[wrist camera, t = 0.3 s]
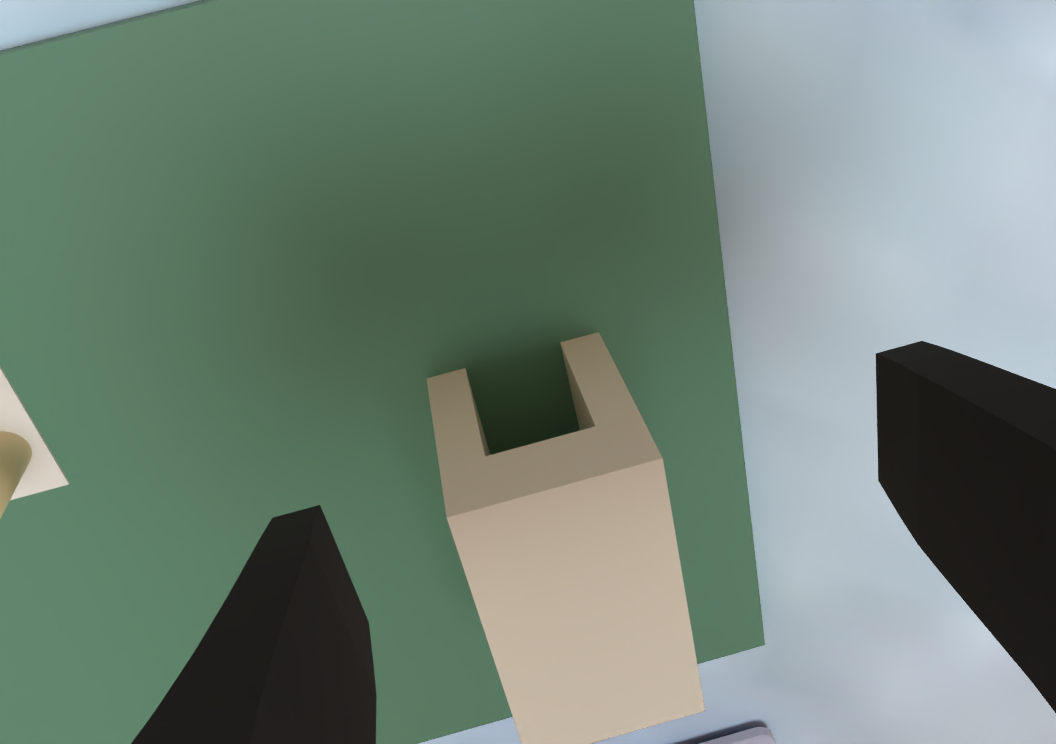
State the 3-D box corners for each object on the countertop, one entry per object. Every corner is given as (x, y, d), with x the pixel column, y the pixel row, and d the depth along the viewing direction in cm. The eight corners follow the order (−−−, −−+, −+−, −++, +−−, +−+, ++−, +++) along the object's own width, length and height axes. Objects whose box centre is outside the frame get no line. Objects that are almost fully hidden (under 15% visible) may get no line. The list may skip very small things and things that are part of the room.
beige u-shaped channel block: (643, 559, 25) (705, 710, 20) (496, 600, 24) (528, 761, 20) (598, 332, 21) (662, 458, 17) (426, 378, 21) (446, 517, 17)
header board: (756, 629, 28) (798, 711, 25) (-47, 857, 27) (-89, 965, 24) (670, -118, 17) (727, -111, 15) (-642, 213, 16) (-826, 282, 14)
